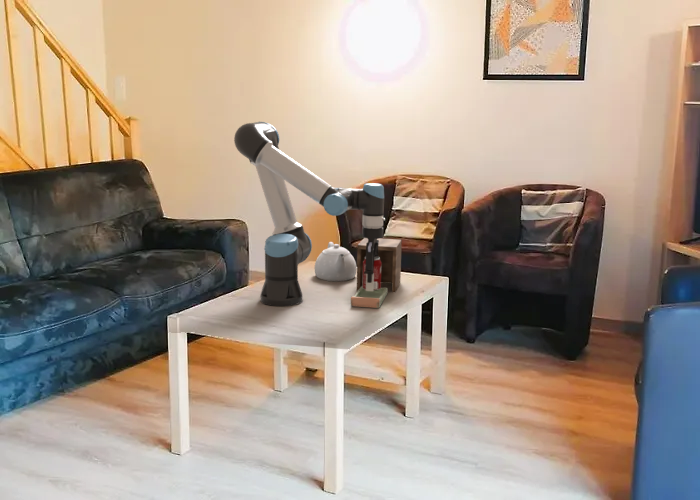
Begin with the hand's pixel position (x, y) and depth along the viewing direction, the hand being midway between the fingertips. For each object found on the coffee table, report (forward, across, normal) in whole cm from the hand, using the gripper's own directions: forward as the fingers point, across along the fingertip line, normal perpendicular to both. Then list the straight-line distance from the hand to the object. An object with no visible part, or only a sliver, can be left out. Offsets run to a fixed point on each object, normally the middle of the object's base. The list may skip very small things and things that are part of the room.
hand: (371, 288), depth 288 cm
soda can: (+1, 0, 0) cm, 1 cm away
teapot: (+4, +29, +20) cm, 35 cm away
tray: (+4, -4, 0) cm, 5 cm away
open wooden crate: (+4, +18, 0) cm, 18 cm away
